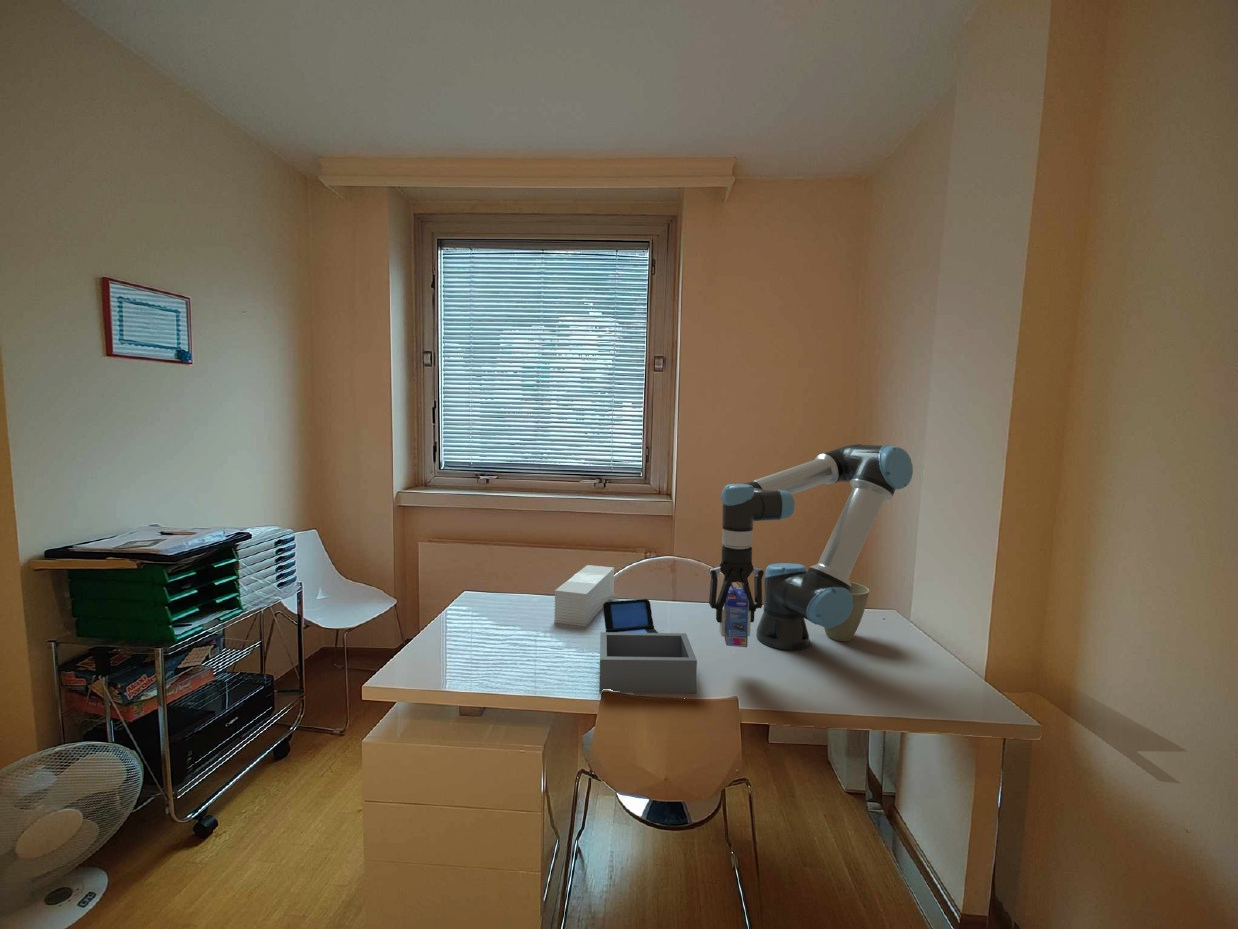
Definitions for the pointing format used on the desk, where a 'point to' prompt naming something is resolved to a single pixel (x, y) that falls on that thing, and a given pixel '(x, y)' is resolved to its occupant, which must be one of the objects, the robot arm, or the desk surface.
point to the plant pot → (851, 615)
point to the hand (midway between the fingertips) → (734, 634)
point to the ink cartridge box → (736, 617)
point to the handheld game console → (628, 616)
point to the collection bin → (647, 663)
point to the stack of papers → (584, 595)
